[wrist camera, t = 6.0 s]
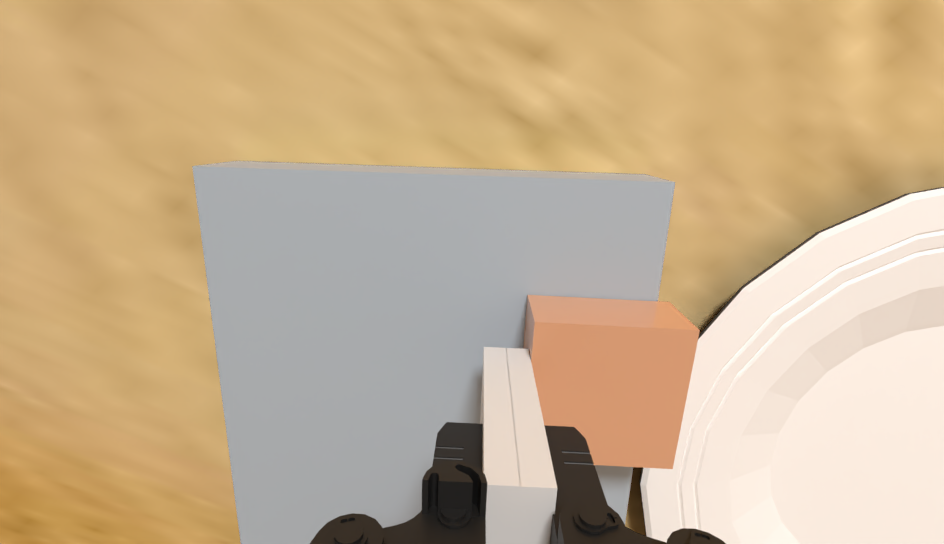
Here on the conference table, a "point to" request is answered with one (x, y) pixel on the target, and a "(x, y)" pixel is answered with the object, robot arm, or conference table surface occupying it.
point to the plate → (820, 394)
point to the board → (392, 315)
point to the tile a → (613, 373)
